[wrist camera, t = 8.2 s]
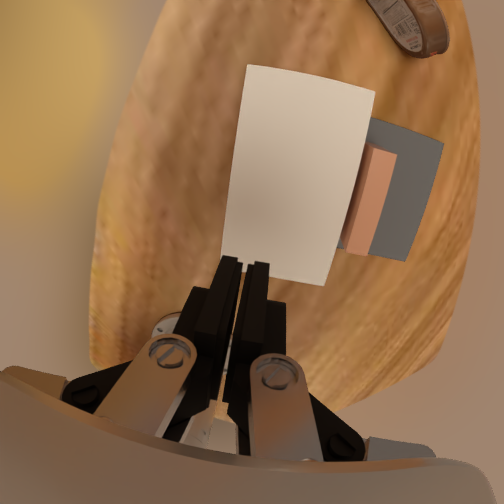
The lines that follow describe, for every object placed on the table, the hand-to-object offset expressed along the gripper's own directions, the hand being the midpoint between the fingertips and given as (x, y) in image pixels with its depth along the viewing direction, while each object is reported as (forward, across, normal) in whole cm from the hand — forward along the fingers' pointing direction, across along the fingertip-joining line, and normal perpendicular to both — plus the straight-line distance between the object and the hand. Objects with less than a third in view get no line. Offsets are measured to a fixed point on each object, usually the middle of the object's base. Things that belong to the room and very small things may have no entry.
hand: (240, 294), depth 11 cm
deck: (+20, -2, -1) cm, 20 cm away
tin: (+19, -7, -21) cm, 29 cm away
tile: (+16, -8, -1) cm, 18 cm away
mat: (+20, -12, -1) cm, 23 cm away
